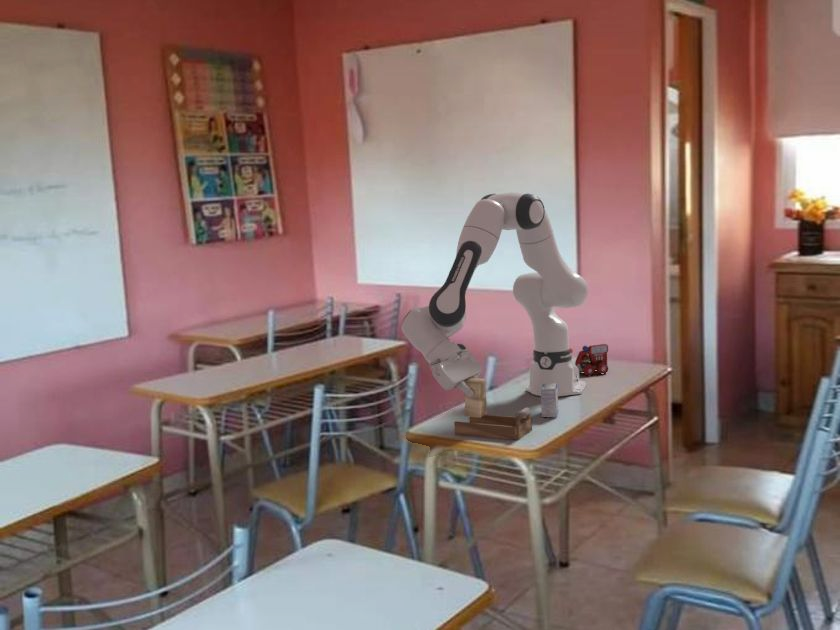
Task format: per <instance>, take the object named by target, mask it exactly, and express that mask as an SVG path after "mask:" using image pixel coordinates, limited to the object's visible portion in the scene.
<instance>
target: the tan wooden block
mask: <svg viewBox="0 0 840 630" xmlns="http://www.w3.org/2000/svg"><path fill="white" fill-rule="evenodd" d="M486 380H487V379H486V378H479V377H478V378H470V379H468V380H465V381H464V382H465V383H466V384H465V385H467V386H468V387H469V388H472V389H473V390H474V391H475V394H474V395H473V396H472V397H469V396H468V395H467V394H466V393H464V392H463V393H464V412H465V413H464V415H465V417H467V418H469V417H478V418H480V417H482V416H484V415H486V414H488V408H487V405H488V404H487V382H486Z"/></svg>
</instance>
